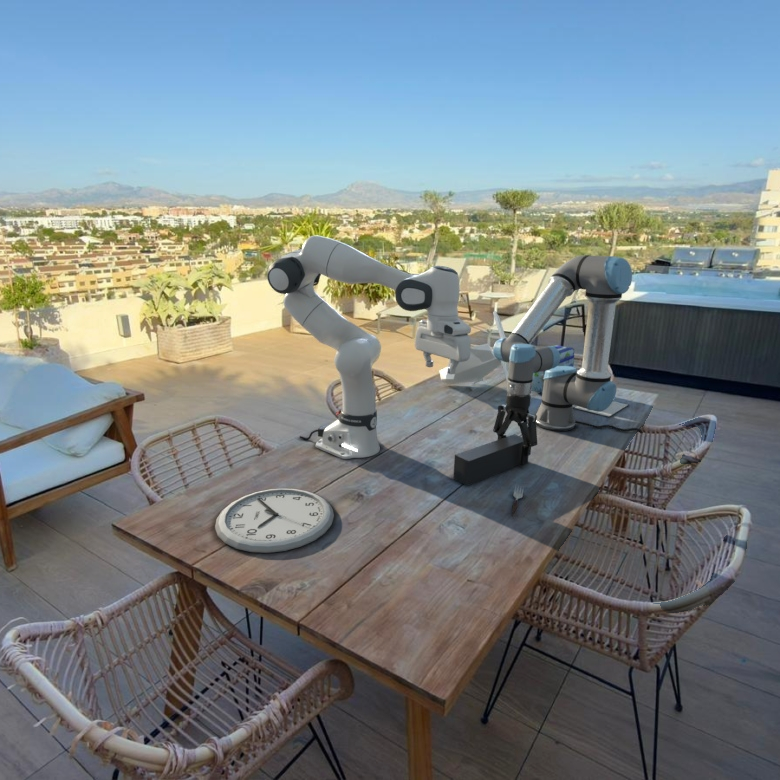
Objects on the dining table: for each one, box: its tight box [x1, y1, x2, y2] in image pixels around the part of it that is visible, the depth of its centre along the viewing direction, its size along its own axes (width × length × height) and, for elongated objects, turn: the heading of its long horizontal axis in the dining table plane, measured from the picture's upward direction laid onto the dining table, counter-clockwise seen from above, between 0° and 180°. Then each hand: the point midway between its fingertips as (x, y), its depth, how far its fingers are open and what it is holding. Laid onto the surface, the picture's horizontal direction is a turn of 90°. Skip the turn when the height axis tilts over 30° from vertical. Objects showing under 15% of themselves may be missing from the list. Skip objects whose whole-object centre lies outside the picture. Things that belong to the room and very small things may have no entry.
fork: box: [511, 484, 525, 517], centre depth 145 cm, size 3×16×2 cm, turn 160°
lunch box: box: [531, 345, 575, 394], centre depth 245 cm, size 26×11×21 cm, turn 134°
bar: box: [452, 434, 524, 486], centre depth 164 cm, size 28×6×8 cm, turn 128°
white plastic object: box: [438, 310, 509, 386], centre depth 245 cm, size 37×45×31 cm
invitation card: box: [573, 400, 629, 418], centre depth 226 cm, size 21×1×15 cm
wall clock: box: [214, 488, 335, 554], centre depth 135 cm, size 30×2×30 cm
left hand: (440, 370), depth 155 cm, fingers open, 8 cm apart
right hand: (512, 458), depth 171 cm, fingers open, 9 cm apart
